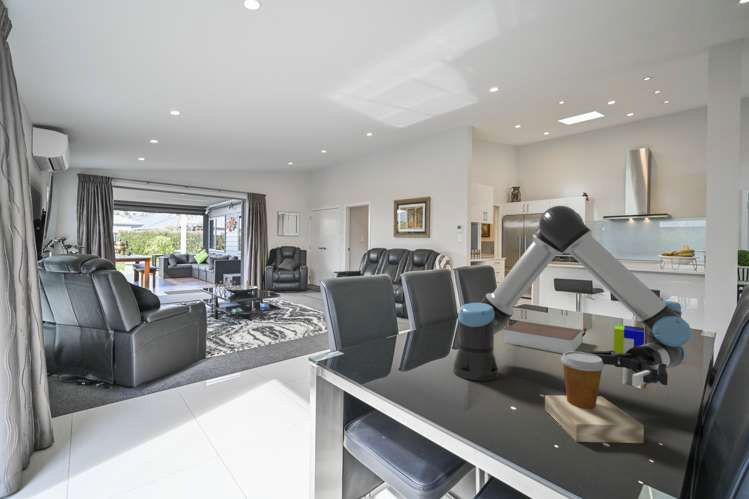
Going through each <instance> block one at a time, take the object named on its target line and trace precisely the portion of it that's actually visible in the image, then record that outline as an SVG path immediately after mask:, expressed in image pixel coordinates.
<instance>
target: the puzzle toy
mask: <svg viewBox="0 0 749 499" xmlns="http://www.w3.org/2000/svg"><path fill="white" fill-rule="evenodd" d="M644 344H645V327H641V326H632V325H623V324H615V325H614V329H613V351H615V353H616V354H624V353H626V352H627V351H628V350H629V349H630V348H633V347H636V346H640V345H644Z"/></svg>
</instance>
